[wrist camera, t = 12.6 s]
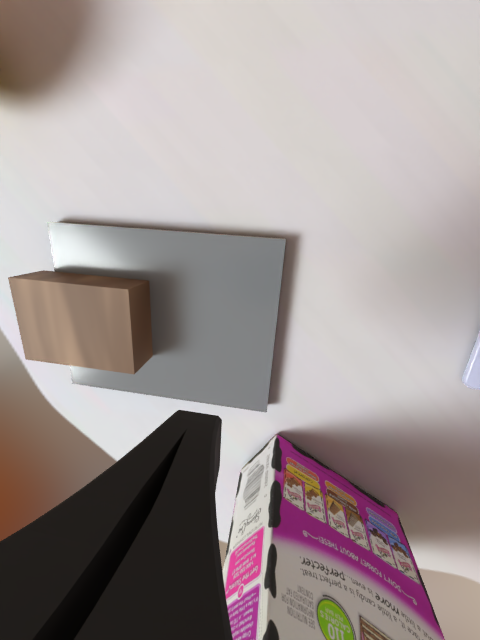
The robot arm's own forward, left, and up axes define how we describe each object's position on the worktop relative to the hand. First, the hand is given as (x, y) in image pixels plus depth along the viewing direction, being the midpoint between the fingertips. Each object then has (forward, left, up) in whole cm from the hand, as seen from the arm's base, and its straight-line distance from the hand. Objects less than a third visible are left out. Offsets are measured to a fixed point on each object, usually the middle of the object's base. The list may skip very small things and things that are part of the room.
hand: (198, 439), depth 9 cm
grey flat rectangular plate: (+5, 0, -10) cm, 11 cm away
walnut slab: (+6, 0, -8) cm, 10 cm away
